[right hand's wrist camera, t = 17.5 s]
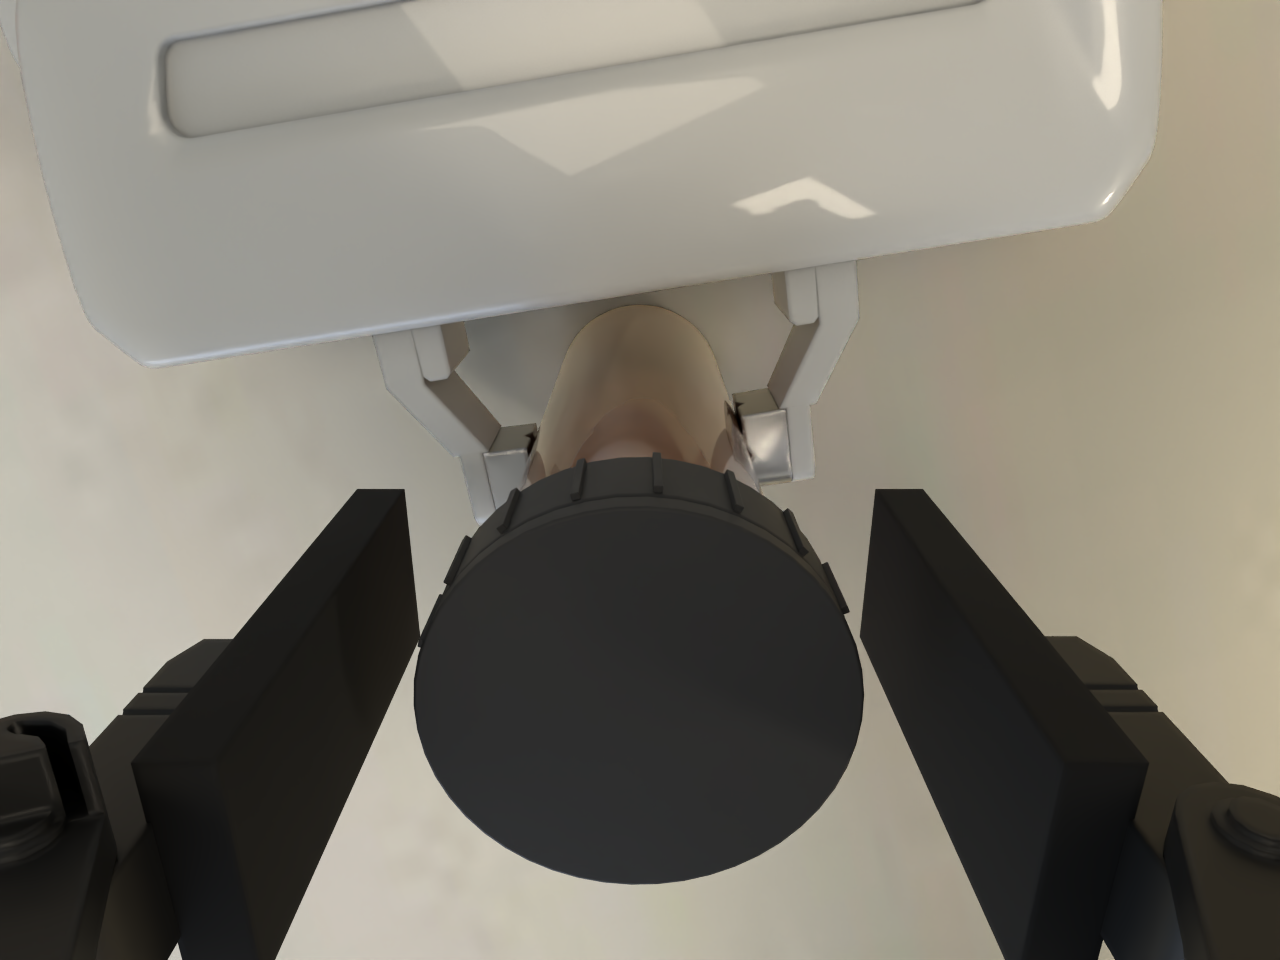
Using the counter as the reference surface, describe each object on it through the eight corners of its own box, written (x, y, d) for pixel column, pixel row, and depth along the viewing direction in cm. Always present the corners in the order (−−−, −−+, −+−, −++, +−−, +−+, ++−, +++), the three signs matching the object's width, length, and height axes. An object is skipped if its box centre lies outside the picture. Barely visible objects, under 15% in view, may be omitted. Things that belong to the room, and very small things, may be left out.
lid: (385, 720, 13) (348, 805, 11) (530, 379, 11) (511, 421, 9) (725, 844, 13) (737, 940, 12) (914, 548, 12) (958, 614, 10)
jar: (654, 270, 24) (674, 446, 10) (749, 397, 25) (887, 712, 11) (528, 369, 25) (383, 656, 11) (625, 486, 26) (608, 877, 12)
